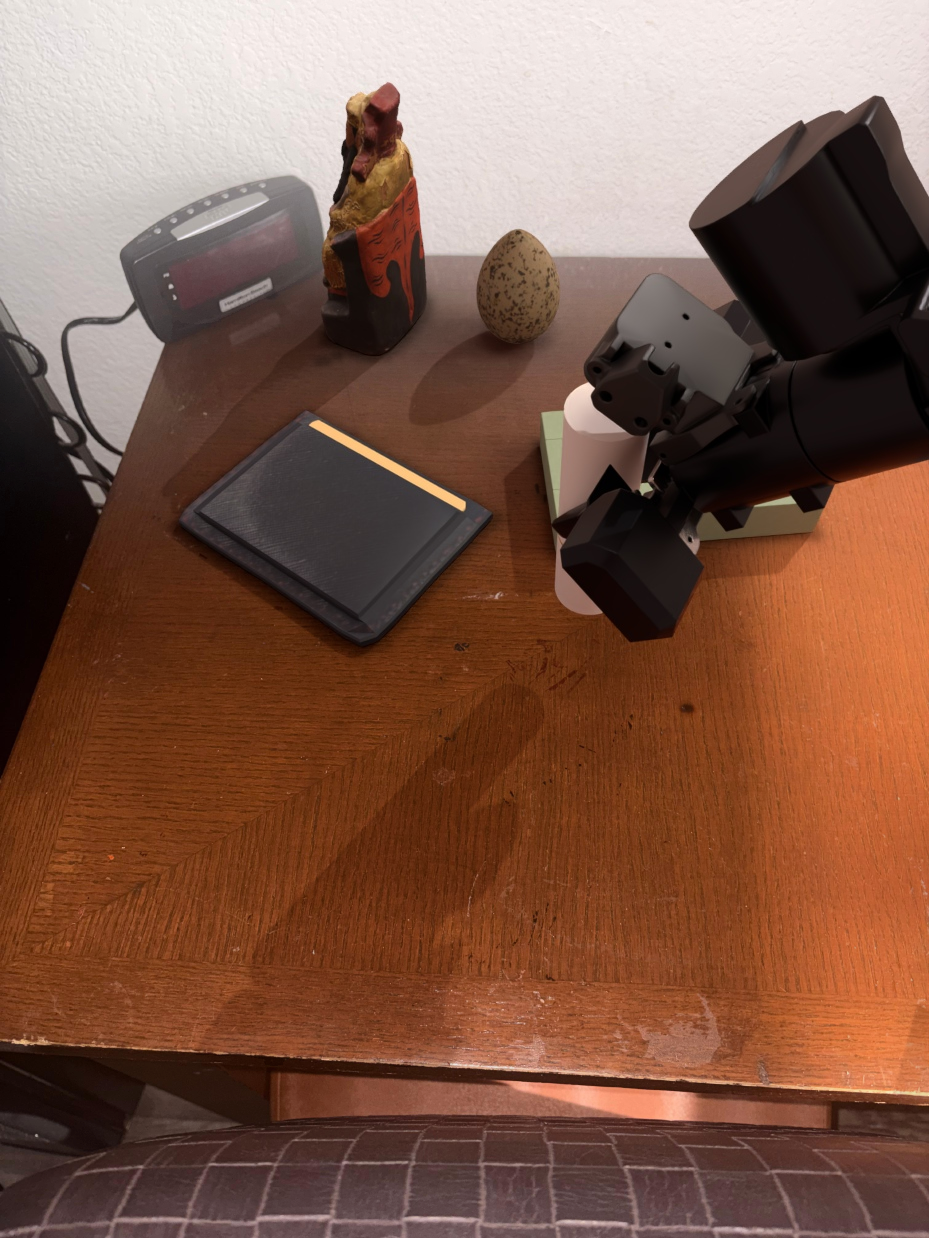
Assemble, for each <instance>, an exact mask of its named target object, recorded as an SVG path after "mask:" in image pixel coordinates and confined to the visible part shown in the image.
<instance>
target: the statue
mask: <svg viewBox="0 0 929 1238" xmlns="http://www.w3.org/2000/svg"><path fill="white" fill-rule="evenodd" d="M400 104H401V93H400V91H399V90H398V89H397V87H396V86H395V85H394V84H393V83H392V82H389V81H386V83H384V84H382V85H381V86H380V87H379V88H378V89H377V90H374V91H371V92H370V93H368V94H365V93H364V92H363V91H360V92H357V93H356V94H355V95H351V96H350V97H349V99H348V100H347V102H346V104H345V111H346V122H345V138H344V139H343V140H342V144H341V147H340V155H341V157H342V161H343V162H342V170H341V173H340V177H339V180H338V183H337V187H336V188H335V191H334V193H332V201H333V204H332V205H331V206H330V207H329V211H328V217H329V227H328V230H327V231H326V237H325V239H324V240H323V243H322V248H321V261H322V262H321V263H322V267H323V276H322V280H321V282H322V285H323V286H324V287H325V288H326V289H327V299H326V300H325V302H324V303H323V305H322V306H321V307H320V315H321V320H322V323H323V326H324V330H325V334H326V336H327V337H328V338H329V340H330V341H331V342H332V343H334V344H335V345H339V346H341V347H346V348H347V349H351V350H352V351H354V352H355V351H356V352H360V353H361V354H364V355H368V356H370V355H371V356H379V355H383V354H385V353H386V352H388V351H389V350H391V349H392V348H393V347H394V346H395V345H396V344H398V343H399V342H400V341H401V340H402V338H403V337H404V336H406V334H407V333H408V331H409V330H411V329H412V328H413V326H414V325H415V323H416V322H417V321H418V319H419V318H420V317H421V315H422V314H423V312H424V311H425V308H426V304H427V300H428V294H427V293H428V292H427V291H428V290H427V289H428V287H427V273H426V258H425V257H426V256H425V254H426V253H425V245H424V240H423V233H422V226H421V210H420V204H419V192H418V186H417V179H416V177H415V175H414V163H413V159H412V154H411V152H410V150H409V148H408V146H407V145H406V143H405V142H404V141H403V140H402V137H403V133H404V126H403V124H402V122H401V121H400V120H398V116H399V107H400Z"/></svg>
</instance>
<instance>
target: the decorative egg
mask: <svg viewBox="0 0 929 1238" xmlns="http://www.w3.org/2000/svg"><path fill="white" fill-rule="evenodd" d="M475 293H476V294H475V295H476V305H477V309H478V312H479V315H480V318H481V321H482V322H483V324H484V325H485V327H486V328H487V329H488V331H489V332H490V333H491V334H492V335H493V336H495V337H496V338H497V339H499V340H501V341H503V342H506V343H509V344H525V343H528V342H532V341H535V339H537V338H538V337H540V336H542V335H543V334H544V333H545V332H546V331H547V330H548V329H549V327H550V326H551V325H552V323H553V321H554V319H555V318H556V315H557V313H558V309H559V307H560V301H561V282H560V275H559V273H558V268H557V265H556V263H555V262H554V259H553V257H552V255H551V254H550V252H549V251H548V249H547V248H546V247H545V245H544V244H543V243H542V242H541V241H540V240H539V239H538V237H536V236H535V235H534V234H533V233H530V232H529V231H527V230H525V229H521V228H515V229H511V230H510V231H508V232H507V233H506V234H504V235H503V236H501V237H500V238H499V239H498V240H497V241H496V243H495V244H493V246H492V247H491V248H490V250H489V251H488V253H487V254H486V256H485V258H484V260H483V262H482V265H481V267H480V270H479V273H478V278H477V283H476V292H475Z"/></svg>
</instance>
